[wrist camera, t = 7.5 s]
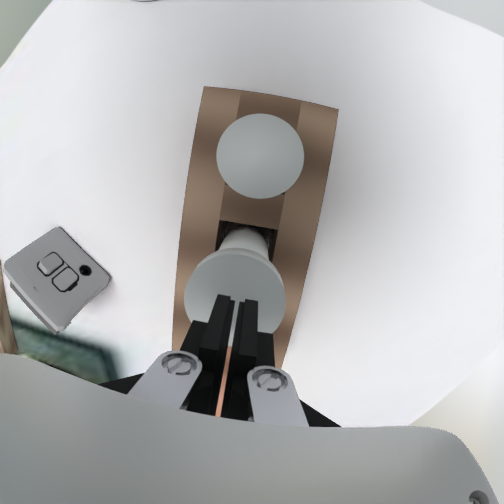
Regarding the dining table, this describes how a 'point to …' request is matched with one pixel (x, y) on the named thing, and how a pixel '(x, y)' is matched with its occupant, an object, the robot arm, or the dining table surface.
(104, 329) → the dining table surface
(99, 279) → the electrical switch
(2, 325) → the square wooden frame
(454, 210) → the dining table surface
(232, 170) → the grey plug
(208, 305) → the grey plug
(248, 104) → the block
